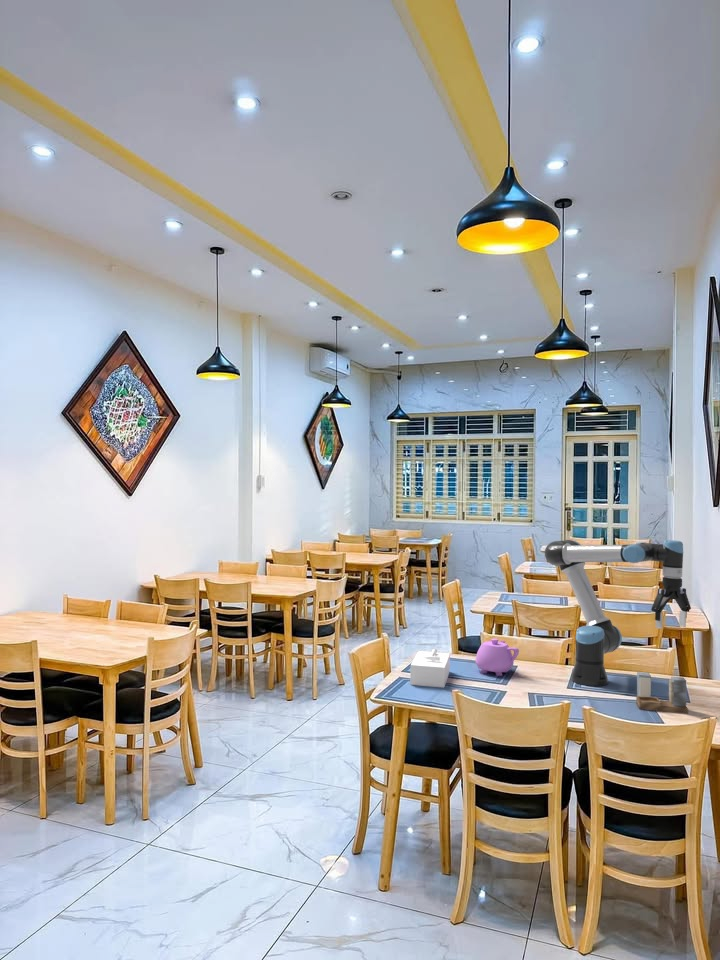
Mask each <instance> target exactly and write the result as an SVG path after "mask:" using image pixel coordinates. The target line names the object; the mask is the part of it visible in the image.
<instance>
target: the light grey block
mask: <svg viewBox="0 0 720 960" xmlns="http://www.w3.org/2000/svg"><path fill="white" fill-rule="evenodd" d="M651 689H652V676H651V674H650V673H649V672H643V671H642V672H641V671H637V673H636V696H645V697H652V694H651V693H652V692H651V691H652V690H651Z"/></svg>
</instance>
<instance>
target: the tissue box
mask: <svg viewBox="0 0 720 960" xmlns="http://www.w3.org/2000/svg"><path fill="white" fill-rule="evenodd" d="M450 661H451V654H450V653H449V652H438V650H437V649H435V648H432V650H431V651H421V650H420V651H419V650H418V651H417V653H416V655H415V657H414V658H413V660H412V662H411V664H410V672H409V673H410V676H409V677H410V679H409V680H410V681H409V684H410V686H411V685H412V686H420V687H421V686H424V687H432V688H433V687H434V688H442V689H443V688H445V686H446V684H447V681H448V678H449V675H450V672H451V671H450V669H451V668H450V667H451V665H450V664H451V663H450Z"/></svg>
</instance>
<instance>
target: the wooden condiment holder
mask: <svg viewBox="0 0 720 960" xmlns="http://www.w3.org/2000/svg"><path fill="white" fill-rule="evenodd" d="M635 702H636V705H638V706H637V708H638V709H639V710H644V709H645V710H647V711H656V712H667V713H677V714H688V713H689V711H688V710H689V709H688V707H687V680H686V678H685V677H682V676H671V677H670V678H669V679H668V700H660V699H659V698H658V697H654V696H651V697H645V696H637V695H636V701H635Z"/></svg>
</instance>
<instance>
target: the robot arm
mask: <svg viewBox="0 0 720 960" xmlns="http://www.w3.org/2000/svg"><path fill="white" fill-rule="evenodd" d="M544 557H545V560H546V561H547V562H548V563H549V564H550V565H553V566H555V567H559V570H560V571H561V573H563V574H565V575H566V577H567V579H568V582H569V584H570V586H571V589H572V592H573V594H574V596H575V599H576V600H577V603H578V605H579V607H580V609H581V611H582V615H583V616H584V619H585V621H586V624H585V625H582V626H579V627H578V628H577V629H576V634H575V663H574V666H573V670H572V671H571V680H570V681H572V682H574V683H576V684H579V685H584V686H587V687H588V686H591V687H603V686H606V685H608V683H609V678H608V673H607V672H606V667H605V665H604V664H605V662H604V661H605V659H604V657H605V656H604V655H605V654H608V653H613V652H615V651H616V650H618V648H620V646H621V645H622V640H623V639H622V637H623V636H622V633H621V631H620V629H619V628H618V627H616V626H615V625H613V622H612V620H611V619H610V618H609V617H606V616H605V614H604V611H603V609H602V606H601V605H600V601H599V600H598V597H597V595H596V592H595V590H594V588H593V586H592V584H591V581H590V580H589V576H588V575H587V573H586V570H585V565H586V563H630V564H631V563H632V564H638V563H643V562H661V563H662V576H663V577H662V582H661V583H662V586H663V588H657V593H656V597H655V599H654V602H653V604H652V607H651V609H650V611H652V612H654V613H655V615H654V620H655V629H659V630H663V615H664V613H662V612H663V610H664V608H665V607H666V606H667V604H668V602H670V601H672V600H675V602H676V603H677V606H678V607H679V608H680V610H679V612H678V613H679V615H678V617H679V618H678V621H679V623H678V626H679V627H683V628H686V626H687V615H688V613H689V612H690V610H692V608H691V604H690V601H689V599H688V594H687V588H684V587H683V579H682V577H683V565H684V544H683V542H682V541H680V540H671V539H670V540H669V539H665V540H664V541H663V543H660V544H659V543H653V542H652V543H651V542H643V541H642V542H636V543H634V544H585V545H583V544H580V543H579V542H577V540H572V539H565V540H556V541H555V540H554V541H551V542H550V543H548V544H547V546H545V549H544ZM687 612H688V613H687Z"/></svg>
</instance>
